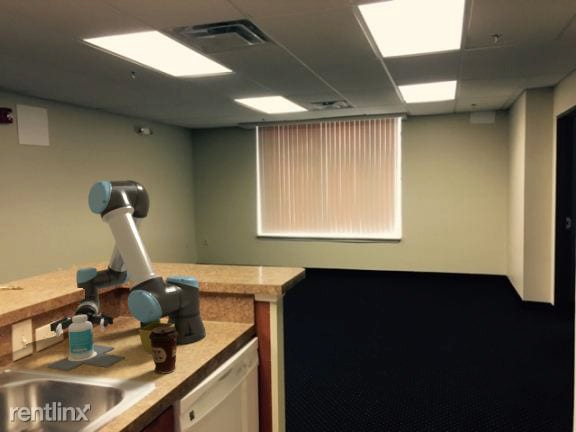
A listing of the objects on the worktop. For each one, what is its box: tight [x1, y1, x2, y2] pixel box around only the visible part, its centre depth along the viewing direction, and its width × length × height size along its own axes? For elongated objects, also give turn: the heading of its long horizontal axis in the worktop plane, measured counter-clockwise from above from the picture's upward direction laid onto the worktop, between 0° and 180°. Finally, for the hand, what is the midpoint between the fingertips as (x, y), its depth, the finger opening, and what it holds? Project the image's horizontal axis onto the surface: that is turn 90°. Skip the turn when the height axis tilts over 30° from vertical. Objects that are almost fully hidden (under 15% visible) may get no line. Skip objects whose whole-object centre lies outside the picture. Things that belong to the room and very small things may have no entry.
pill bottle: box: [67, 315, 95, 359], centre depth 157 cm, size 8×7×14 cm
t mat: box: [47, 344, 126, 372], centre depth 156 cm, size 19×20×1 cm
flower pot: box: [138, 322, 174, 355], centre depth 160 cm, size 9×9×9 cm
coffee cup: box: [149, 327, 178, 374], centre depth 144 cm, size 9×8×13 cm
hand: (79, 330), depth 156 cm, fingers open, 13 cm apart
